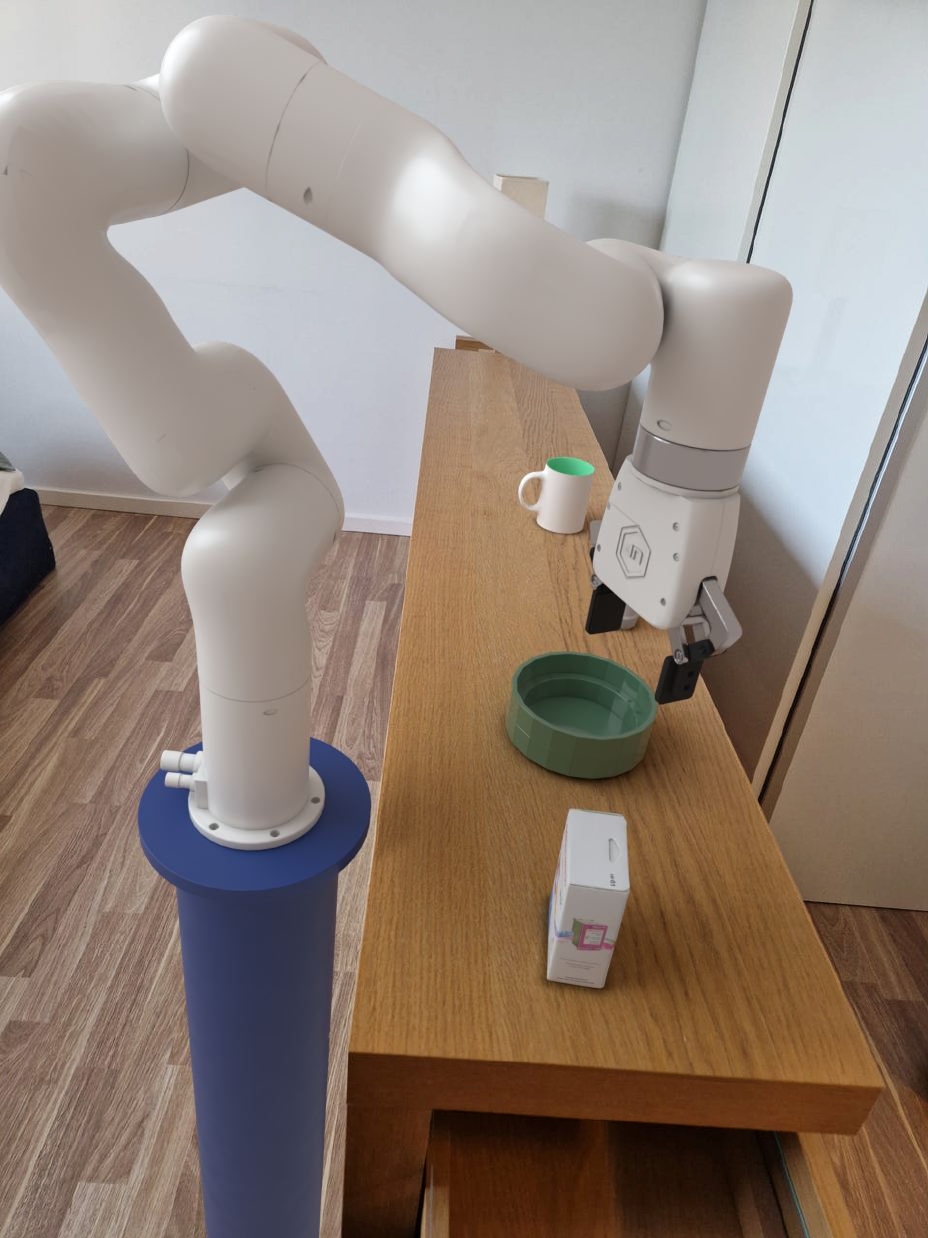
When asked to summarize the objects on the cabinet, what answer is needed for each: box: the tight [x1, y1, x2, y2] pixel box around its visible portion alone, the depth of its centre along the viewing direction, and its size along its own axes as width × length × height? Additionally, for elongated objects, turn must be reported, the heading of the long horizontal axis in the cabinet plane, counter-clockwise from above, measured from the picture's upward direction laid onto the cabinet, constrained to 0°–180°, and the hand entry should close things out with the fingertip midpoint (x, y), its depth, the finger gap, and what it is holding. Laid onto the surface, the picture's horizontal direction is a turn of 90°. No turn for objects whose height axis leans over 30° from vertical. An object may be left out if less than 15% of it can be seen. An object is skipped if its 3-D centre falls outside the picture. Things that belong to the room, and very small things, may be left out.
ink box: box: [546, 808, 631, 989], centre depth 72 cm, size 9×5×12 cm, turn 174°
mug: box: [517, 456, 596, 535], centre depth 146 cm, size 12×8×10 cm
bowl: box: [505, 650, 659, 780], centre depth 98 cm, size 16×16×6 cm
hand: (635, 663), depth 68 cm, fingers open, 9 cm apart
